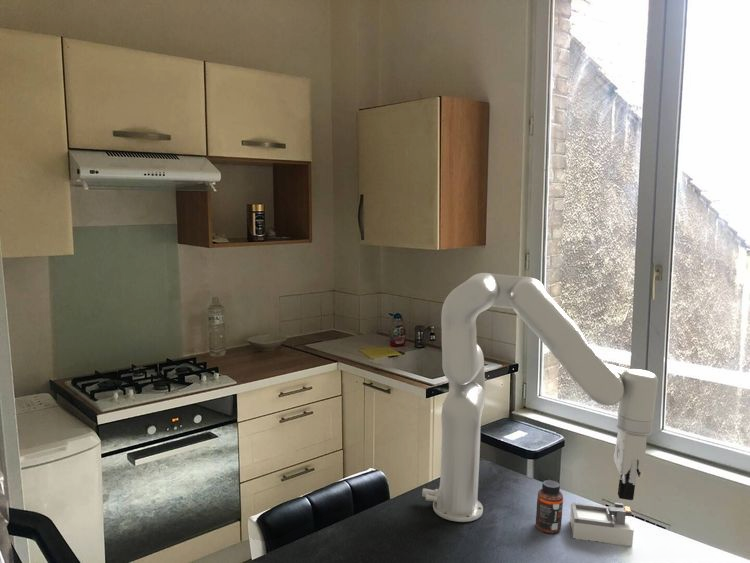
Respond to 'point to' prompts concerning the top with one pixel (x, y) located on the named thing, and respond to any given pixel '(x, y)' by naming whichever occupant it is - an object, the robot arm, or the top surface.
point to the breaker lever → (614, 509)
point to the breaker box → (601, 524)
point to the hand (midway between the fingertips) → (625, 497)
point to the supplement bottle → (549, 507)
